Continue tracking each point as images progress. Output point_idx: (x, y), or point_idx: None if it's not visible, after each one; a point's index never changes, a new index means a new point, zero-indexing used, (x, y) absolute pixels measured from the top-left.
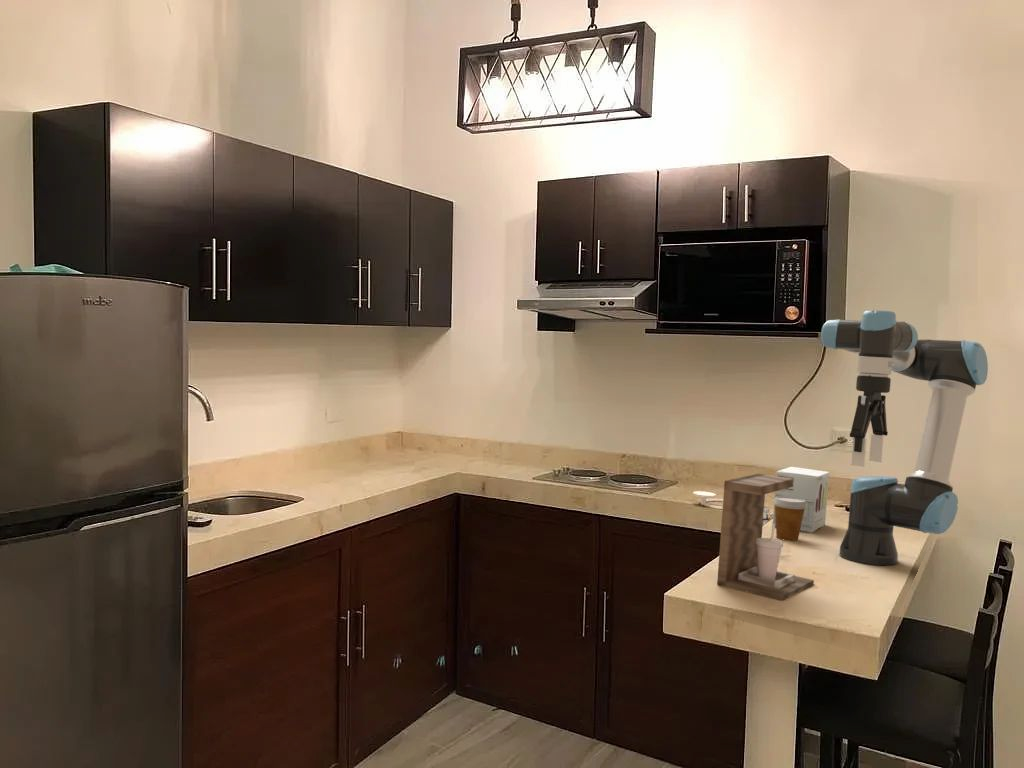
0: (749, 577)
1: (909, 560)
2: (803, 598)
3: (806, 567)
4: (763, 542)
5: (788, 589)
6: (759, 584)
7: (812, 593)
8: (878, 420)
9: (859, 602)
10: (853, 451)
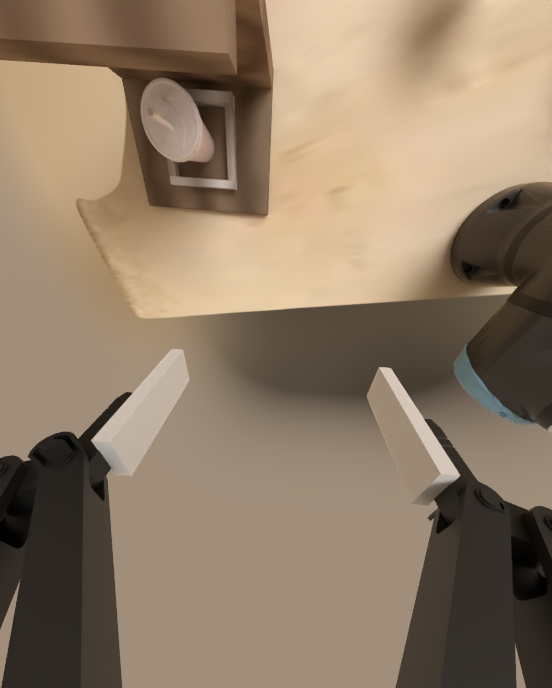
0: None
1: None
2: (188, 226)
3: (369, 165)
4: (141, 115)
5: (186, 200)
6: None
7: (220, 228)
8: (412, 646)
9: (232, 286)
10: (142, 386)
